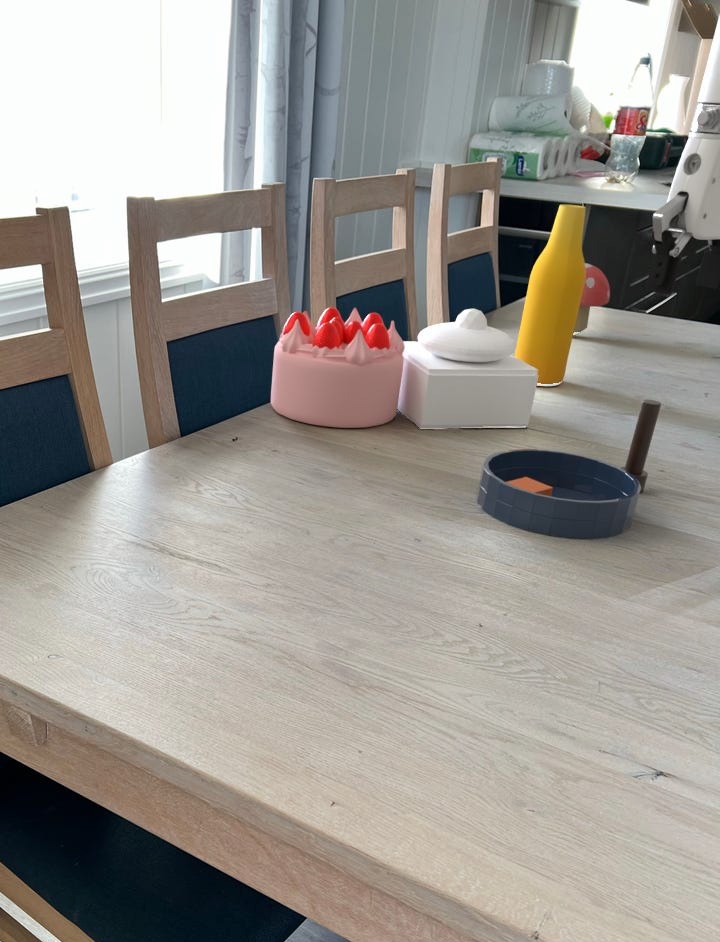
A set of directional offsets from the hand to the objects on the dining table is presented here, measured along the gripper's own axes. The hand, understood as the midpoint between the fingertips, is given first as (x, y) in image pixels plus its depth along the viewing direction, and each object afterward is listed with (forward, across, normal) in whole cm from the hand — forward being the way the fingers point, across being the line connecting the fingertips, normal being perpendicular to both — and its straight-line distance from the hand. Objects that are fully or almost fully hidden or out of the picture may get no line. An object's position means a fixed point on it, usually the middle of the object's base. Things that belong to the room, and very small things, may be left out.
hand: (683, 290), depth 114 cm
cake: (+26, -13, +45) cm, 53 cm away
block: (+25, -21, 0) cm, 32 cm away
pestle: (+25, 0, 0) cm, 25 cm away
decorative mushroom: (+26, +72, +69) cm, 103 cm away
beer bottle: (+26, +34, +45) cm, 62 cm away
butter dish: (+26, +5, +37) cm, 45 cm away
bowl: (+25, -15, 0) cm, 29 cm away
